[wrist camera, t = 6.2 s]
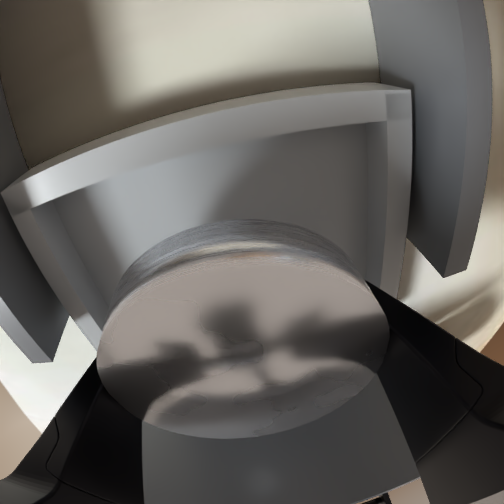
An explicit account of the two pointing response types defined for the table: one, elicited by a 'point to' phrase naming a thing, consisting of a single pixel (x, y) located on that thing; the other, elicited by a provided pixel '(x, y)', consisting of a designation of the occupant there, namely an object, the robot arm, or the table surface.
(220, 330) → the disc
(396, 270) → the tray
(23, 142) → the table surface
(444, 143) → the dock
